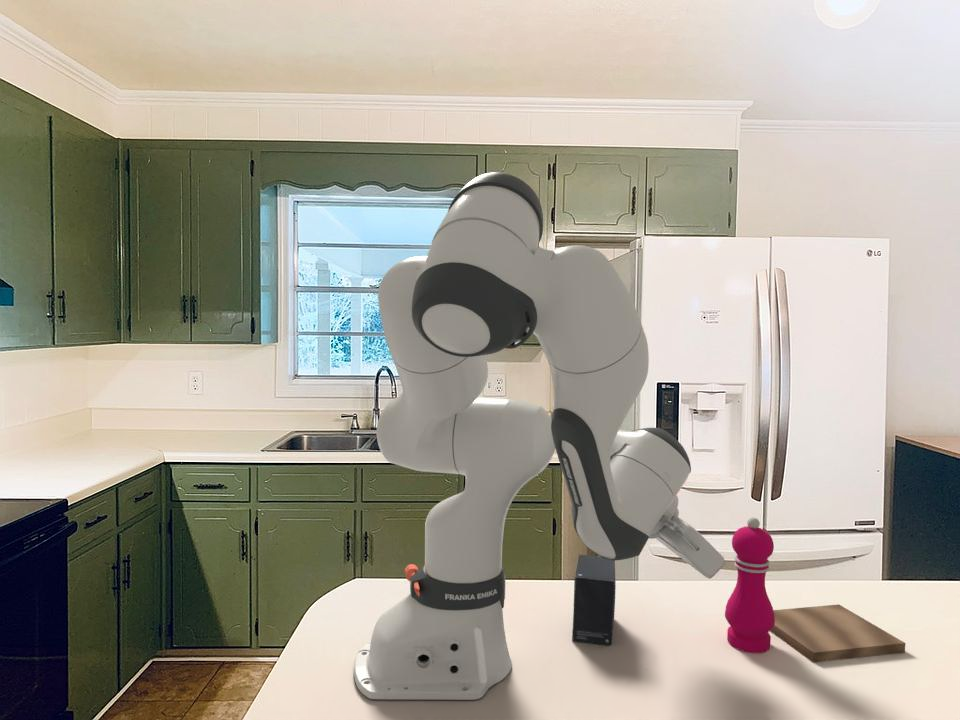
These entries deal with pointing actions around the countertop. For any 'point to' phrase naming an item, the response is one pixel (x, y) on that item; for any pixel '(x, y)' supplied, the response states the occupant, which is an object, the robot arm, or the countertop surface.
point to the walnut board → (832, 634)
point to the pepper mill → (750, 591)
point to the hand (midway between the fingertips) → (706, 568)
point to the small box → (594, 600)
